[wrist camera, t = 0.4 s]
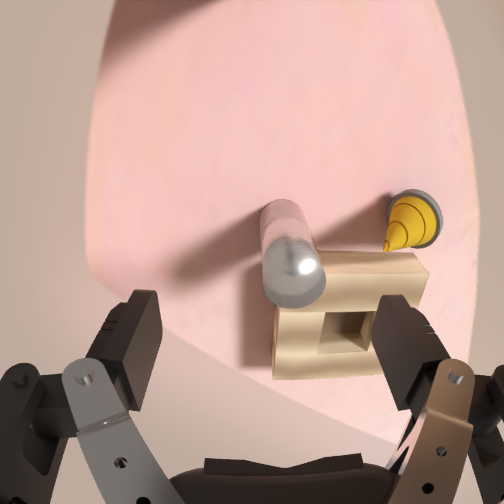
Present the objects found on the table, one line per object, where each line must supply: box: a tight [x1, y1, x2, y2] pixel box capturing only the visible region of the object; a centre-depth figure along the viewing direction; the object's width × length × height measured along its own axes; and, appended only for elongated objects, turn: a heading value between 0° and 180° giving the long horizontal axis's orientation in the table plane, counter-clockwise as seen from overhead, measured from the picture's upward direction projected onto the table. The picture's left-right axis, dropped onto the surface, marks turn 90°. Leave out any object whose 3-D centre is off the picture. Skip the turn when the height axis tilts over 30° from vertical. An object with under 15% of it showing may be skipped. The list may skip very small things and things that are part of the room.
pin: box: [260, 199, 326, 309], centre depth 25 cm, size 4×4×10 cm
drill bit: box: [383, 189, 443, 252], centre depth 26 cm, size 5×5×10 cm
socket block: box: [271, 251, 429, 380], centre depth 32 cm, size 14×14×4 cm
